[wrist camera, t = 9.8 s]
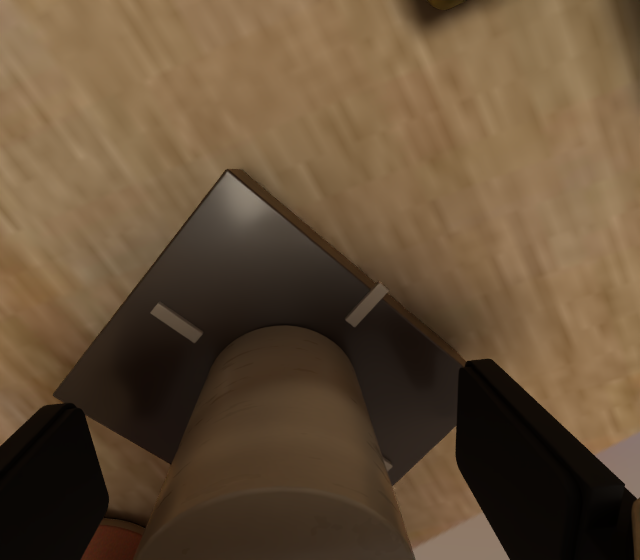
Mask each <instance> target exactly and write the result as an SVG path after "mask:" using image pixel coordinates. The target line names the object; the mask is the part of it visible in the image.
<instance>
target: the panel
mask: <svg viewBox="0 0 640 560" xmlns="http://www.w3.org/2000/svg"><path fill="white" fill-rule="evenodd" d="M388 291H389V289H388V288H387V287H385V286H384V285H383V284H382V283H381V282H380V281H378V282H377V283H375V282H374V281H372V280H371V279H370V278H369V277H368V276H366V275H365V274H364V273H363V272H362V271H361V270H359V269H358V268H357V267H356V266H355V265H353V264H352V263H351V262H350V261H349V260H348V259H346V258H345V257H344V256H343V255H342V254H341V253H339V252H338V251H337V250H336V249H335V248H333V247H332V246H331V245H330V244H329V243H328V242H326V241H325V240H324V239H323V238H322V237H320V236H319V235H318V234H317V233H316V232H315V231H313V230H312V229H311V228H310V227H309V226H307V225H306V224H305V223H304V222H303V221H302V220H300V219H299V218H298V217H297V216H296V215H294V214H293V213H292V212H291V211H290V210H289V209H287V208H286V207H285V206H284V205H283V204H281V203H280V202H279V201H278V200H277V199H276V198H274V197H273V196H272V195H271V194H270V193H268V192H267V191H266V190H265V189H264V188H263V187H261V186H260V185H259V184H258V183H257V182H255V181H254V180H253V179H252V178H251V177H250V176H248V175H247V174H246V173H245V172H244V171H242V170H240V169H227V170H225V172H224V173H223V174H222V175H221V177H220V178H219V179H218V181H217V182H216V183H215V185H214V186H213V187H212V188H211V190H210V191H209V192H208V194H207V195H206V196H205V197H204V199H203V200H202V201H201V203H200V204H199V205H198V207H197V208H196V209H195V210H194V212H193V213H192V214H191V216H190V217H189V218H188V220H187V221H186V222H185V223H184V225H183V226H182V227H181V229H180V230H179V231H178V232H177V234H176V235H175V236H174V238H173V239H172V240H171V242H170V243H169V244H168V245H167V247H166V248H165V249H164V251H163V252H162V253H161V254H160V256H159V257H158V258H157V260H156V261H155V262H154V264H153V265H152V266H151V267H150V269H149V270H148V271H147V273H146V274H145V275H144V277H143V278H142V279H141V280H140V282H139V283H138V284H137V286H136V287H135V288H134V289H133V291H132V292H131V293H130V295H129V296H128V297H127V299H126V300H125V301H124V302H123V304H122V305H121V306H120V308H119V309H118V310H117V312H116V313H115V314H114V315H113V317H112V318H111V319H110V321H109V322H108V323H107V324H106V326H105V327H104V328H103V330H102V331H101V332H100V334H99V335H98V336H97V337H96V339H95V340H94V341H93V343H92V344H91V345H90V346H89V348H88V349H87V350H86V352H85V353H84V354H83V356H82V357H81V358H80V359H79V361H78V362H77V363H76V365H75V366H74V367H73V369H72V370H71V371H70V372H69V374H68V375H67V376H66V378H65V379H64V380H63V381H62V383H61V384H60V385H59V387H58V388H57V389H56V391H55V392H54V393H53V396H54V397H55V398H57V399H59V400H61V401H62V402H64V403H73V404H74V405H75V406H76V407H77V408H80V409H82V410H83V412H84V414H85V415H87V416H88V417H90V418H92V419H93V420H95V421H97V422H99V423H100V424H102V425H104V426H106V427H107V428H109V429H111V430H112V431H114V432H116V433H118V434H119V435H121V436H123V437H124V438H126V439H128V440H130V441H131V442H133V443H135V444H137V445H138V446H140V447H142V448H143V449H145V450H147V451H149V452H150V453H152V454H154V455H156V456H157V457H159V458H161V459H162V460H164V461H166V462H168V463H169V464H172V462H173V459H174V457H175V454H176V452H177V449H178V447H179V444H180V442H181V439H182V437H183V435H184V432H185V430H186V427H187V425H188V422H189V420H190V417H191V415H192V412H193V410H194V408H195V405H196V403H197V400H198V398H199V395H200V393H201V390H202V388H203V385H204V383H205V381H206V378H207V376H208V373H209V371H210V368H211V366H212V365H213V363H214V361H215V359H216V358H217V357H218V356H219V354H220V353H221V352H222V351H223V350H224V349H225V348H226V347H227V346H228V345H229V344H230V343H232V342H233V341H234V340H236V339H237V338H239V337H241V336H243V335H244V334H246V333H249V332H251V331H254V330H257V329H261V328H264V327H270V326H284V325H287V326H297V327H302V328H306V329H309V330H312V331H315V332H317V333H319V334H321V335H323V336H325V337H327V338H328V339H330V340H331V341H333V342H334V343H335V344H336V345H337V346H339V347H340V348H341V349H342V350H343V352H344V353H345V354H346V355H347V357H348V358H349V360H350V362H351V363H352V365H353V368H354V370H355V372H356V376H357V379H358V382H359V385H360V388H361V391H362V394H363V397H364V401H365V404H366V407H367V410H368V413H369V416H370V419H371V422H372V426H373V429H374V432H375V435H376V438H377V441H378V444H379V447H380V451H381V454H382V457H383V460H384V463H385V466H386V469H387V472H388V476H389V479H390V482H391V485H392V486H393V485H394V484H395V483H396V482H397V481H398V480H399V479H400V478H402V477H403V476H404V475H405V474H406V473H407V472H408V471H409V470H410V469H411V468H412V467H413V466H414V465H415V464H416V463H417V462H418V461H419V460H421V459H422V458H423V457H424V456H425V455H426V454H427V453H428V452H429V451H430V450H431V449H432V448H433V447H434V446H435V445H436V444H437V443H438V442H440V441H441V440H442V439H443V438H444V437H445V436H446V435H447V434H448V433H449V432H450V431H451V430H452V429H453V428H454V427H455V426H456V425H457V400H458V374H459V369H460V368H461V367H465V364H466V361H465V360H464V359H463V358H462V357H461V356H460V355H459V353H457V352H456V351H455V350H454V349H453V348H452V347H450V346H449V345H448V344H447V343H446V342H444V341H443V340H442V339H441V338H440V337H439V336H437V335H436V334H435V333H434V332H433V331H431V330H430V329H429V328H428V327H427V326H426V325H424V324H423V323H422V322H421V321H420V320H418V319H417V318H416V317H415V316H414V315H413V314H411V313H410V312H409V311H408V310H407V309H405V308H404V307H403V306H402V305H401V304H400V303H398V302H397V301H396V300H395V299H394V298H392V297H391V296H390V295H389V294H388V293H387V292H388Z"/></svg>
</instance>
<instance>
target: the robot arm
mask: <svg viewBox="0 0 640 560" xmlns="http://www.w3.org/2000/svg"><path fill="white" fill-rule="evenodd" d="M456 461H457V465H458V468H459V470H460V472H461V474H462V475H463V477H464V479H465V481H466V482H467V484H468V486H469V488H470V490H471V491H472V493H473V495H474V497H475V498H476V500H477V502H478V504H479V505H480V507H481V509H482V511H483V513H484V514H485V516H486V518H487V520H488V521H489V523H490V525H491V527H492V529H493V530H494V532H495V534H496V536H497V537H498V539H499V541H500V543H501V544H502V546H503V548H504V550H505V551H506V553H507V555H508V557H509V559H510V560H640V498H639V499H637V498H636V497H635V496H633V495H632V494H631V493H630V492H629V491H628V490H627V489H626V488H625V484H624V483H623V482H622V481H621V480H620V479H619V478H618V477H617V476H616V475H615V474H613V473H612V472H611V471H610V470H609V469H608V468H607V467H606V466H605V465H604V464H603V463H602V462H601V461H600V460H599V459H597V458H596V457H595V456H594V455H593V454H592V453H591V452H590V451H589V450H588V449H587V448H586V447H585V446H584V445H583V444H582V443H580V442H579V441H578V440H577V439H576V438H575V437H574V436H573V435H572V434H571V433H570V432H569V431H568V430H567V429H566V428H564V427H563V426H562V425H561V424H560V423H559V422H558V421H557V420H556V419H555V418H554V417H553V416H552V415H551V414H550V413H548V412H547V411H546V410H545V409H544V408H543V407H542V406H541V405H540V404H539V403H538V402H537V401H536V400H535V399H534V398H532V397H531V396H530V395H529V394H528V393H527V392H526V391H525V390H524V389H523V388H522V387H521V386H520V385H519V384H518V383H516V382H515V381H514V380H513V379H512V378H511V377H510V376H509V375H508V374H507V373H506V372H505V371H504V370H503V369H502V368H500V367H499V366H498V365H497V364H496V363H495V362H494V361H493V360H491V359H481V360H472V361H467V362H466V364H465V367H461V368H460V369H459V374H458V400H457V427H456ZM108 503H109V496H108V492H107V488H106V485H105V482H104V478H103V475H102V472H101V468H100V465H99V461H98V458H97V455H96V451H95V448H94V445H93V441H92V438H91V435H90V431H89V428H88V424H87V421H86V418H85V414H84V412H83V410H82V409H80V408H77V407H76V406H75V405H74V404H73V403H63V404H54V405H46V406H43V407H42V408H40V409H39V410H38V411H37V412H36V413H35V414H34V415H33V416H32V417H31V418H30V419H29V420H28V421H27V422H25V423H24V424H23V425H22V426H21V427H20V428H19V429H18V430H17V431H16V432H15V433H14V434H13V435H12V436H11V437H10V438H9V439H8V440H6V441H5V442H4V443H3V444H2V445H1V446H0V560H81V558H82V556H83V554H84V552H85V551H86V549H87V547H88V545H89V543H90V541H91V539H92V538H93V536H94V534H95V532H96V530H97V528H98V527H99V525H100V523H101V521H102V519H103V517H104V515H105V513H106V511H107V508H108Z"/></svg>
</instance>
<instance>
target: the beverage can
mask: <svg viewBox="0 0 640 560" xmlns="http://www.w3.org/2000/svg"><path fill="white" fill-rule="evenodd" d="M144 530H145V528H143V527H141V526H139V525H137V524H134V523H131V522H128V521H123V520H118V519H108V518H103V519H102V521H101V523H100V525H99V527H98V528H97V530H96V532H95V534H94V536H93V538H92V539H91V541H90V543H89V545H88V547H87V549H86V551H85V552H84V554H83V556H82V558H81V560H133V557H134V555H135V552H136V550H137V548H138V545H139V543H140V540H141V538H142V535H143V533H144Z"/></svg>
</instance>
